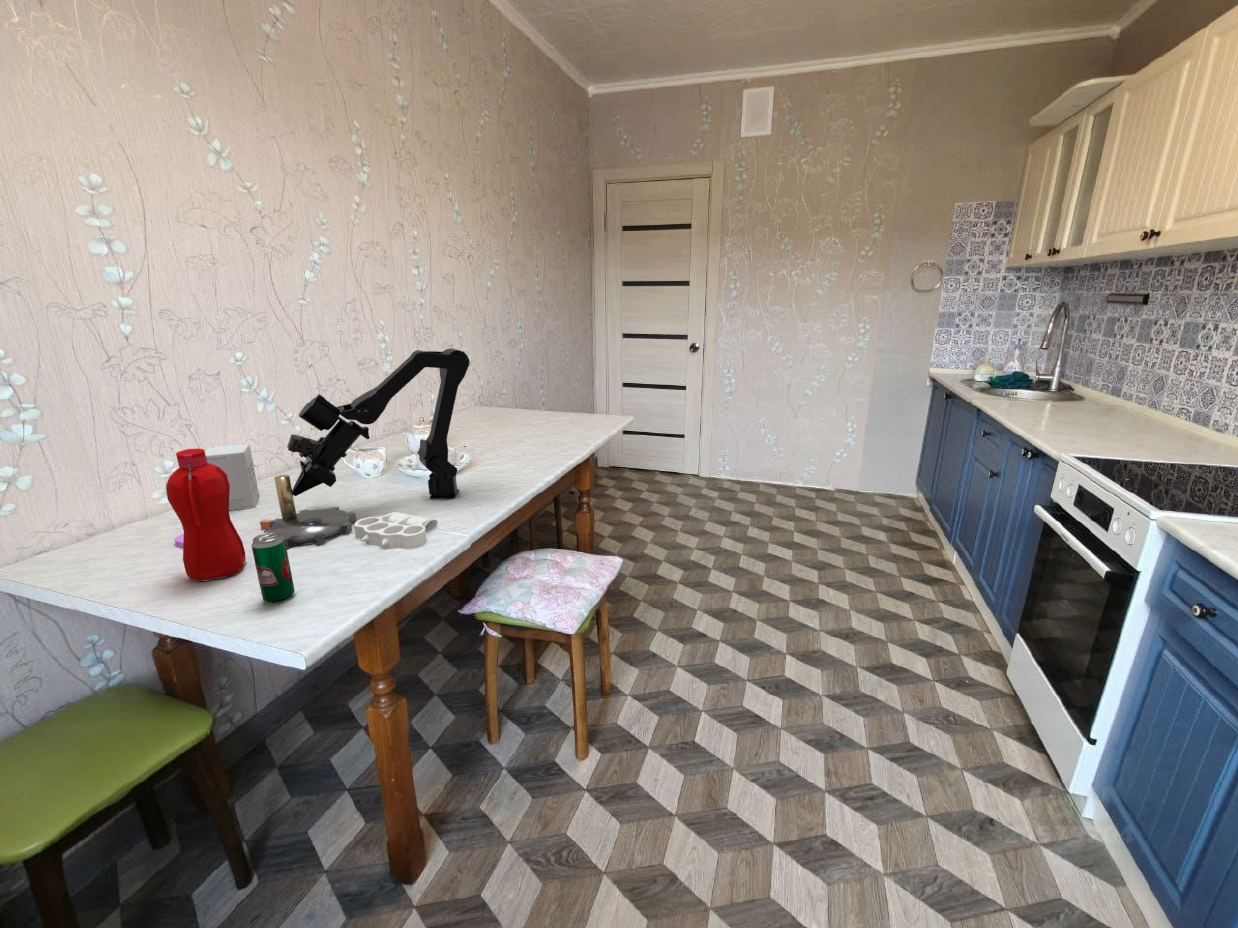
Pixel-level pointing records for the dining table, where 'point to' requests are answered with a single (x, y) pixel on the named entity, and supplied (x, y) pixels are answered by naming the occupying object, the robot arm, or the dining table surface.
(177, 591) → the dining table surface
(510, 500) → the dining table surface
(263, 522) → the orange rectangular block
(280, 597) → the soda can
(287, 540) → the sprocket
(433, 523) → the white brass knuckles
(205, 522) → the water bottle
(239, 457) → the supplement box
